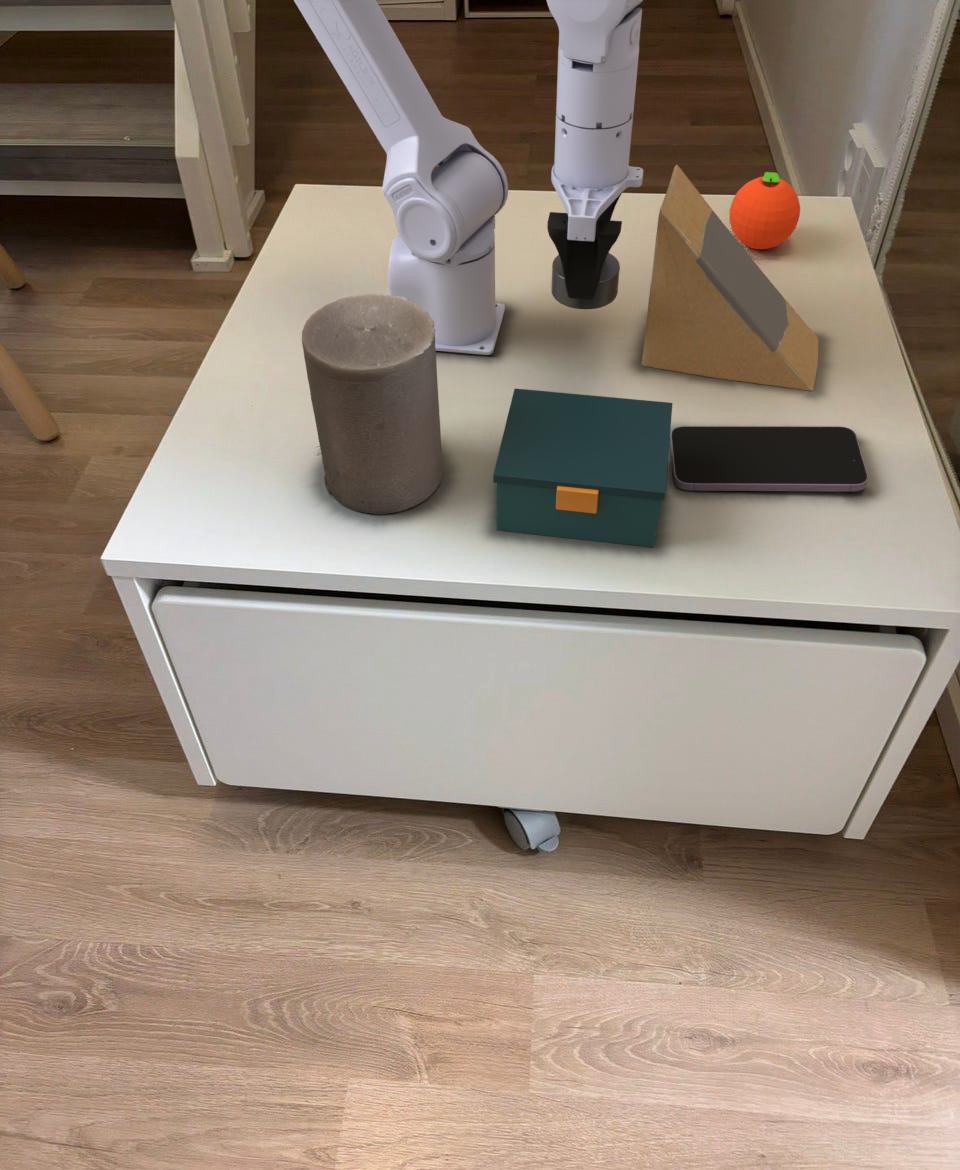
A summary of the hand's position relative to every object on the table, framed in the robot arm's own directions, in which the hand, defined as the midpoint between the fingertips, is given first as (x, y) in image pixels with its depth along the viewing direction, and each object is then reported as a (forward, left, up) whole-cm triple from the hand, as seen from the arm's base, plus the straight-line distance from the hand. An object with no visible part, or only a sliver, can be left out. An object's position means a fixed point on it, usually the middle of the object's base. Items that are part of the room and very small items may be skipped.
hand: (584, 276), depth 86 cm
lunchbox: (+2, -17, -9) cm, 19 cm away
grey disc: (0, 0, -1) cm, 1 cm away
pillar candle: (-14, -17, -9) cm, 24 cm away
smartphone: (+16, -11, -9) cm, 22 cm away
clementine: (+16, +24, -9) cm, 30 cm away
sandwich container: (+14, +4, -9) cm, 17 cm away
